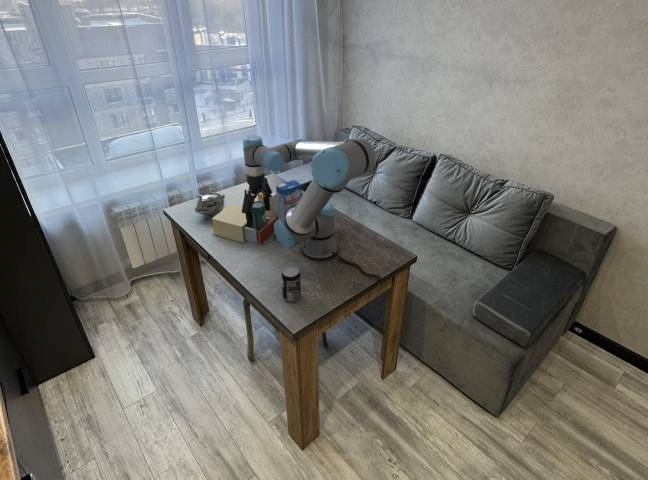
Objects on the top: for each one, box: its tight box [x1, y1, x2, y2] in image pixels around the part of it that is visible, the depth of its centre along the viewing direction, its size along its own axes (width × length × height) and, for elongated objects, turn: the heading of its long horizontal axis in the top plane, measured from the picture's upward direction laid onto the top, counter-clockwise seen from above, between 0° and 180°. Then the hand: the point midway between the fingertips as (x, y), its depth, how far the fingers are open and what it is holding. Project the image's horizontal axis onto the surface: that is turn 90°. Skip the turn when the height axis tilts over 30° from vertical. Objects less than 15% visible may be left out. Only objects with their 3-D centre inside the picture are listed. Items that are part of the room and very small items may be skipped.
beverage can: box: [281, 265, 302, 302], centre depth 144 cm, size 7×7×12 cm
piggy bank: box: [194, 192, 226, 220], centre depth 190 cm, size 11×15×12 cm
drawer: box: [243, 217, 277, 246], centre depth 177 cm, size 20×13×7 cm, turn 68°
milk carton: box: [275, 179, 303, 221], centre depth 186 cm, size 10×6×20 cm, turn 131°
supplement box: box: [257, 191, 278, 220], centre depth 191 cm, size 8×5×13 cm, turn 68°
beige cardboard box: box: [211, 203, 247, 244], centre depth 180 cm, size 16×14×9 cm
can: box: [251, 200, 266, 236], centre depth 174 cm, size 6×6×15 cm
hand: (258, 217), depth 174 cm, fingers open, 13 cm apart
